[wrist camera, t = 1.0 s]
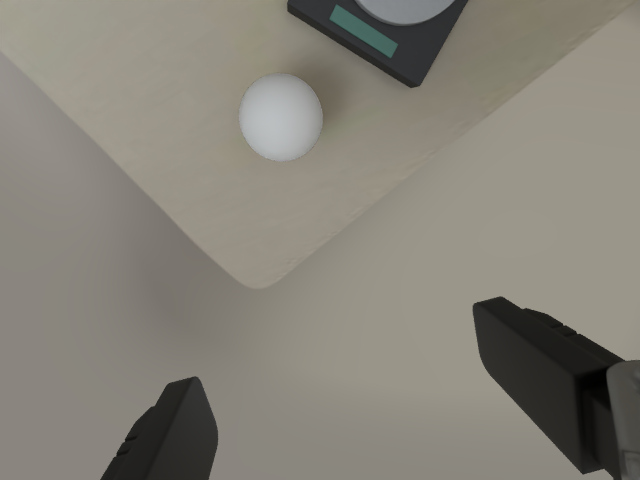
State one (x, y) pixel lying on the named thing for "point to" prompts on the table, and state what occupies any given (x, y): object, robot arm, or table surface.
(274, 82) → the lightbulb
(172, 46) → the table surface
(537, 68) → the table surface
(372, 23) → the scale
